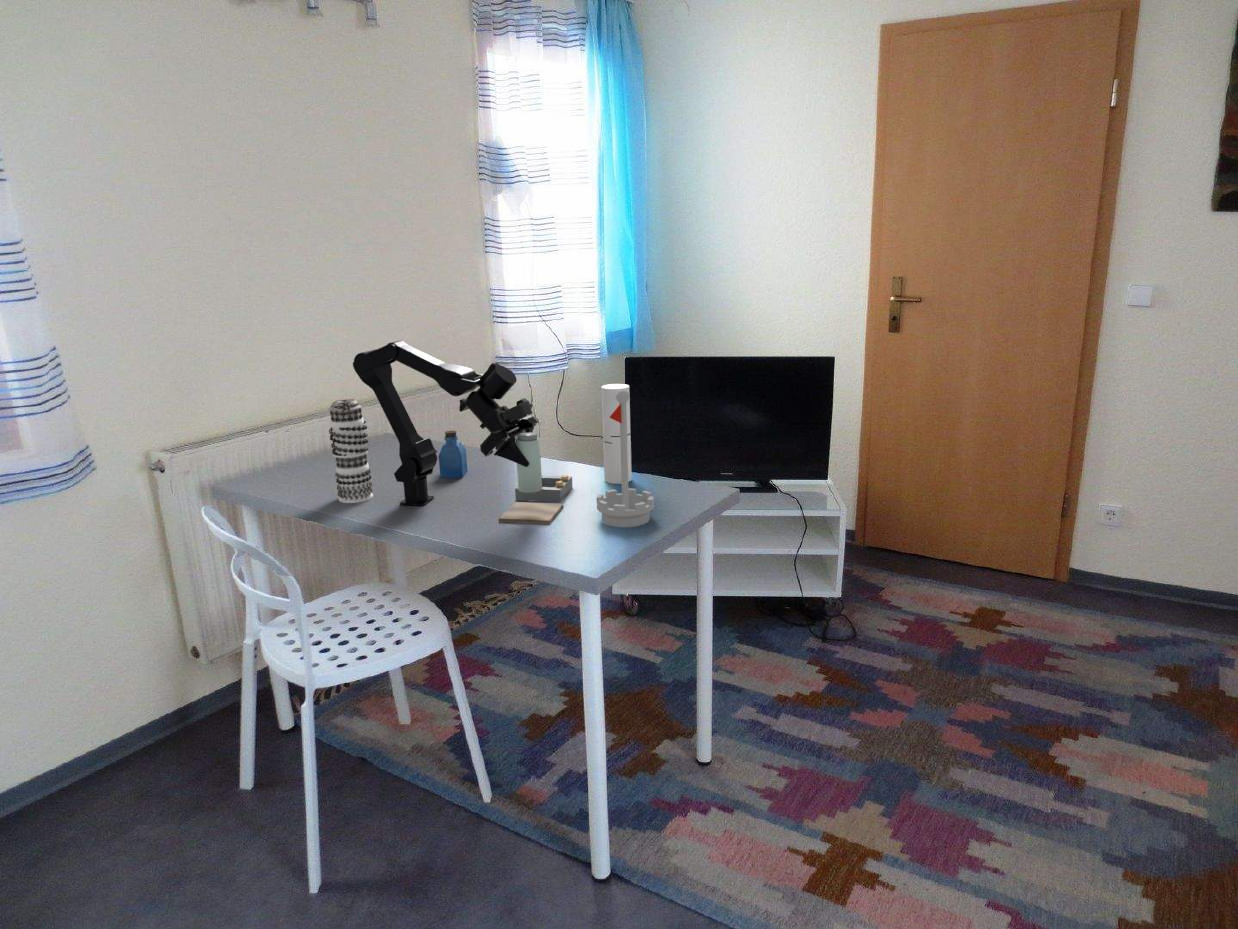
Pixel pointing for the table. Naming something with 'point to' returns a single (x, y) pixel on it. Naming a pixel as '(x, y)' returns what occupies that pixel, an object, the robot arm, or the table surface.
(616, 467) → the cylindrical container
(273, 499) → the table surface
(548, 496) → the grey square tray
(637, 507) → the flag stand
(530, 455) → the grey-lidded mint jar
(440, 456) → the perfume bottle
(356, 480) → the decorative candle
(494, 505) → the table surface
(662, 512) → the table surface
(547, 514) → the walnut pad
